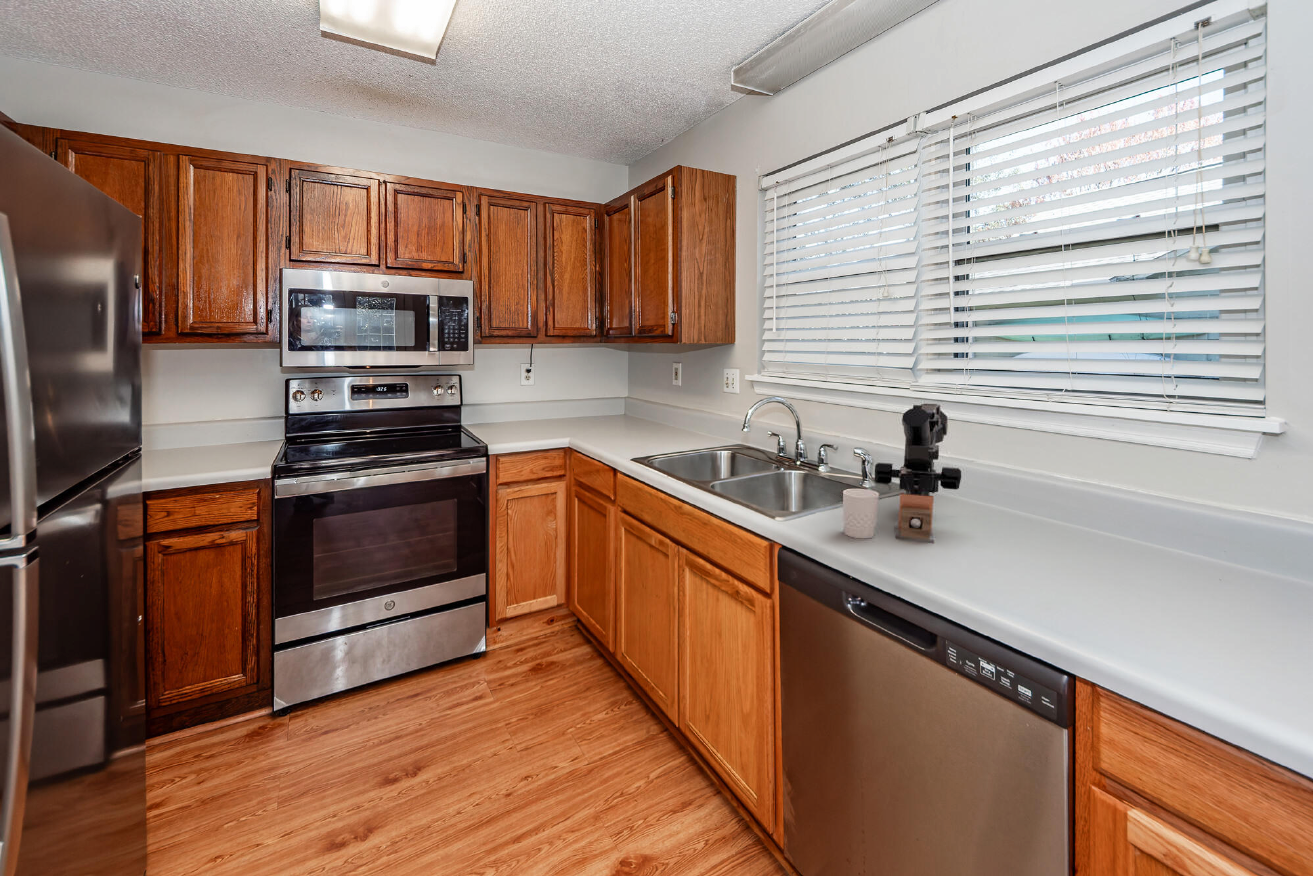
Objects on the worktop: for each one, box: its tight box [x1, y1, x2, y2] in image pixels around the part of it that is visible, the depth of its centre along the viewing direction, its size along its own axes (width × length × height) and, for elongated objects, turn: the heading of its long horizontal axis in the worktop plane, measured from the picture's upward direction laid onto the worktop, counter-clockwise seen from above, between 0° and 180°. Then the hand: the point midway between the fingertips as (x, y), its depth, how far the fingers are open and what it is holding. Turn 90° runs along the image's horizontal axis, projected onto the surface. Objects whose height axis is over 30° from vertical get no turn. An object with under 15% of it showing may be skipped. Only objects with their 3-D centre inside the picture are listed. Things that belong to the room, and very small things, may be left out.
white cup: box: [842, 488, 880, 539], centre depth 135 cm, size 8×8×10 cm
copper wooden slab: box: [898, 492, 934, 533], centre depth 132 cm, size 5×7×9 cm
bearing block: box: [895, 507, 935, 544], centre depth 135 cm, size 10×8×7 cm
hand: (915, 506), depth 135 cm, fingers closed, pressing on copper wooden slab
